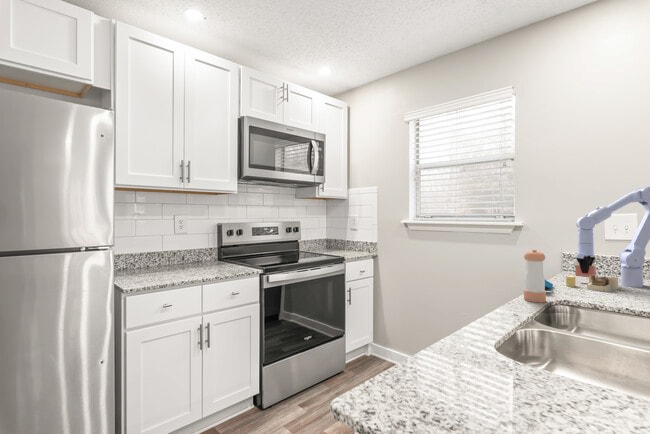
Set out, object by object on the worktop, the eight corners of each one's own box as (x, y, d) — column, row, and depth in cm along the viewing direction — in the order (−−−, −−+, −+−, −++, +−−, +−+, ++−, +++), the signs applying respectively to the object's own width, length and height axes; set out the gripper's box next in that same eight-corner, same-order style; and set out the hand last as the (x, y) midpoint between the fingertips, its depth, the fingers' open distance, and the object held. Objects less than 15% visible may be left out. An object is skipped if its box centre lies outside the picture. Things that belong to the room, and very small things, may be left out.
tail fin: (569, 287, 159) (569, 275, 159) (575, 287, 157) (575, 276, 157) (566, 288, 157) (566, 276, 157) (572, 288, 155) (572, 277, 155)
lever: (534, 297, 159) (521, 292, 147) (535, 282, 161) (522, 276, 148) (551, 300, 155) (540, 295, 142) (552, 284, 156) (541, 277, 144)
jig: (594, 286, 160) (594, 274, 159) (619, 289, 152) (619, 276, 152) (583, 290, 151) (583, 277, 151) (610, 294, 144) (609, 280, 144)
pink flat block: (577, 275, 166) (577, 264, 166) (595, 277, 161) (595, 266, 161) (575, 275, 165) (575, 265, 165) (593, 277, 159) (593, 266, 159)
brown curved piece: (600, 285, 157) (600, 272, 157) (612, 287, 154) (612, 274, 154) (591, 289, 150) (591, 276, 150) (603, 290, 146) (603, 277, 146)
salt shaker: (540, 298, 139) (539, 248, 139) (550, 302, 131) (549, 250, 131) (520, 297, 139) (520, 248, 139) (529, 302, 132) (528, 250, 132)
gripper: (580, 241, 170) (581, 270, 170) (569, 243, 162) (570, 273, 162) (598, 242, 165) (599, 271, 165) (588, 244, 156) (588, 275, 156)
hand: (586, 272), depth 163 cm, fingers closed on pink flat block, 2 cm apart
